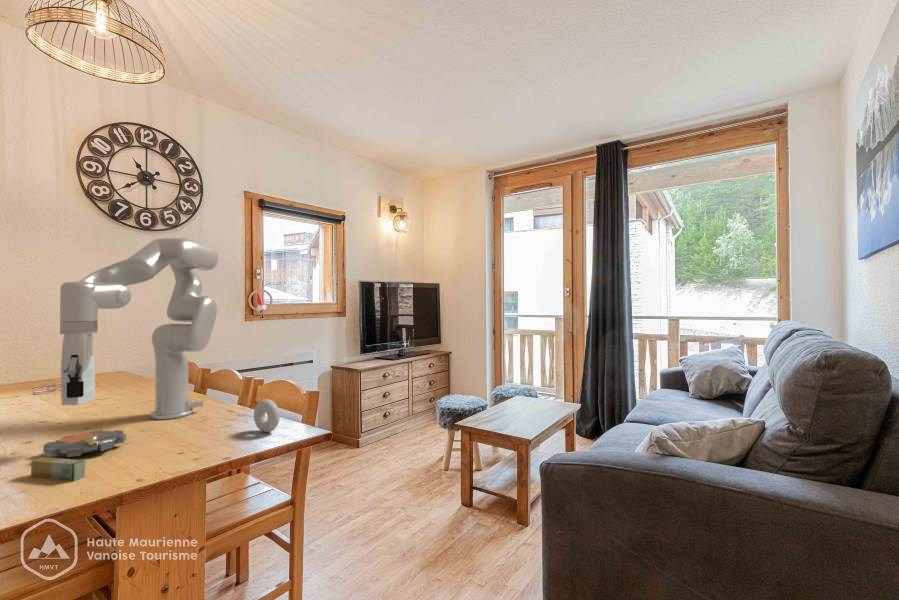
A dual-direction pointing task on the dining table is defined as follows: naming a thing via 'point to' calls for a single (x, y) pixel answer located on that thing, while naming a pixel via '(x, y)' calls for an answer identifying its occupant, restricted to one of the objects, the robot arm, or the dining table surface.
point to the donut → (272, 414)
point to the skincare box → (88, 385)
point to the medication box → (58, 469)
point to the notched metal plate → (84, 443)
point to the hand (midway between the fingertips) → (78, 393)
